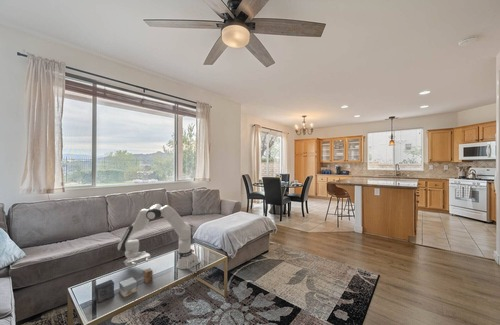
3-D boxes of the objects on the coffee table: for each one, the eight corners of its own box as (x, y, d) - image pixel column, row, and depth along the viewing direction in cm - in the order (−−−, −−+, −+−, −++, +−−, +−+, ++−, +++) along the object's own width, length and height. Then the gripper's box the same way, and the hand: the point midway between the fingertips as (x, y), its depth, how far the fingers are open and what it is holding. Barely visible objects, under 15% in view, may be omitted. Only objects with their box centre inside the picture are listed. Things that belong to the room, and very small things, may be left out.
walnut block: (149, 278, 175) (149, 268, 175) (152, 280, 172) (152, 270, 172) (143, 281, 172) (143, 270, 171) (146, 283, 168) (146, 272, 168)
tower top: (132, 282, 164) (132, 277, 164) (136, 286, 158) (136, 281, 158) (119, 287, 157) (119, 282, 157) (123, 292, 151) (123, 287, 151)
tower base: (132, 287, 164) (132, 282, 164) (136, 291, 158) (136, 286, 158) (119, 292, 157) (119, 287, 157) (123, 297, 151) (123, 292, 151)
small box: (111, 292, 156) (111, 278, 156) (114, 296, 152) (114, 282, 152) (94, 299, 148) (94, 285, 148) (97, 303, 144) (97, 289, 144)
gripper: (122, 257, 180) (128, 263, 171) (146, 250, 196) (153, 255, 187) (122, 265, 181) (128, 270, 172) (146, 257, 196) (153, 262, 187)
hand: (141, 262), depth 179 cm, fingers open, 8 cm apart
